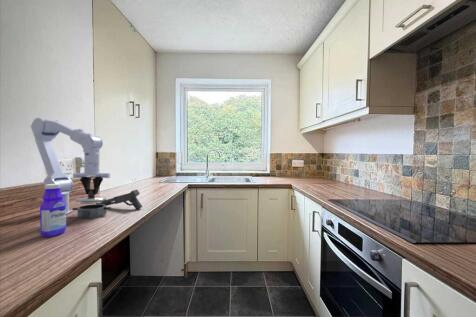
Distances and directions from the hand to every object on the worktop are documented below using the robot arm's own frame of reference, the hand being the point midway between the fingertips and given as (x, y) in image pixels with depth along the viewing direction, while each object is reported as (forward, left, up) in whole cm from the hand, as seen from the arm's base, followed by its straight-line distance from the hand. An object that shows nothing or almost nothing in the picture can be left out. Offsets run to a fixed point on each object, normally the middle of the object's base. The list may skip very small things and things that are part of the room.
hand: (91, 194), depth 108 cm
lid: (0, -1, -4) cm, 4 cm away
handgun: (+7, +15, -10) cm, 19 cm away
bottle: (-2, -24, -10) cm, 26 cm away
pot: (0, +1, -10) cm, 10 cm away
